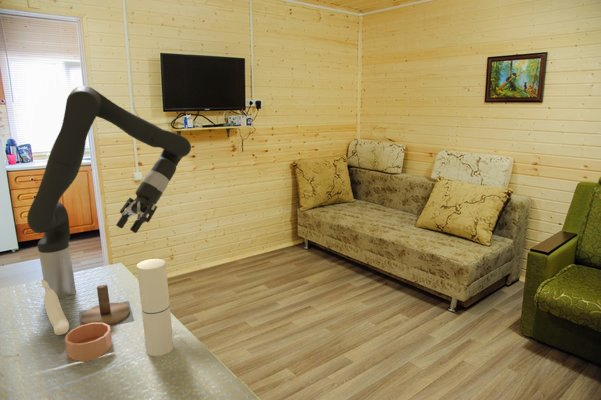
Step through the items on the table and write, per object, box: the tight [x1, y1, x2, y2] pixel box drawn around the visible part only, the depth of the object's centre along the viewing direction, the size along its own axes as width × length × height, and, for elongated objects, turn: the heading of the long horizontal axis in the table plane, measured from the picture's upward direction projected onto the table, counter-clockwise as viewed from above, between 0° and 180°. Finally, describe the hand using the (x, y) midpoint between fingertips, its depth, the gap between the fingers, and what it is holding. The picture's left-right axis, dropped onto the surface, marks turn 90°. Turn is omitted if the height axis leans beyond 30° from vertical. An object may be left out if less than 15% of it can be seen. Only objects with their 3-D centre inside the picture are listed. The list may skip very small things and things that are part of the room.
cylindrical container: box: [136, 258, 175, 357], centre depth 112 cm, size 7×7×25 cm
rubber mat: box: [78, 300, 135, 328], centre depth 132 cm, size 15×15×1 cm
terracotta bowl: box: [64, 323, 113, 363], centre depth 115 cm, size 11×11×5 cm
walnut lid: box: [81, 284, 130, 325], centre depth 131 cm, size 14×14×10 cm
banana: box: [40, 279, 70, 336], centre depth 123 cm, size 5×19×15 cm, turn 41°
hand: (125, 229), depth 134 cm, fingers open, 8 cm apart
